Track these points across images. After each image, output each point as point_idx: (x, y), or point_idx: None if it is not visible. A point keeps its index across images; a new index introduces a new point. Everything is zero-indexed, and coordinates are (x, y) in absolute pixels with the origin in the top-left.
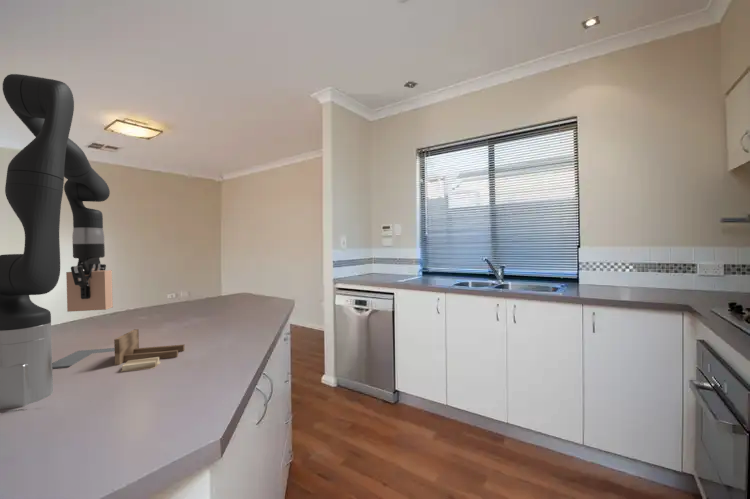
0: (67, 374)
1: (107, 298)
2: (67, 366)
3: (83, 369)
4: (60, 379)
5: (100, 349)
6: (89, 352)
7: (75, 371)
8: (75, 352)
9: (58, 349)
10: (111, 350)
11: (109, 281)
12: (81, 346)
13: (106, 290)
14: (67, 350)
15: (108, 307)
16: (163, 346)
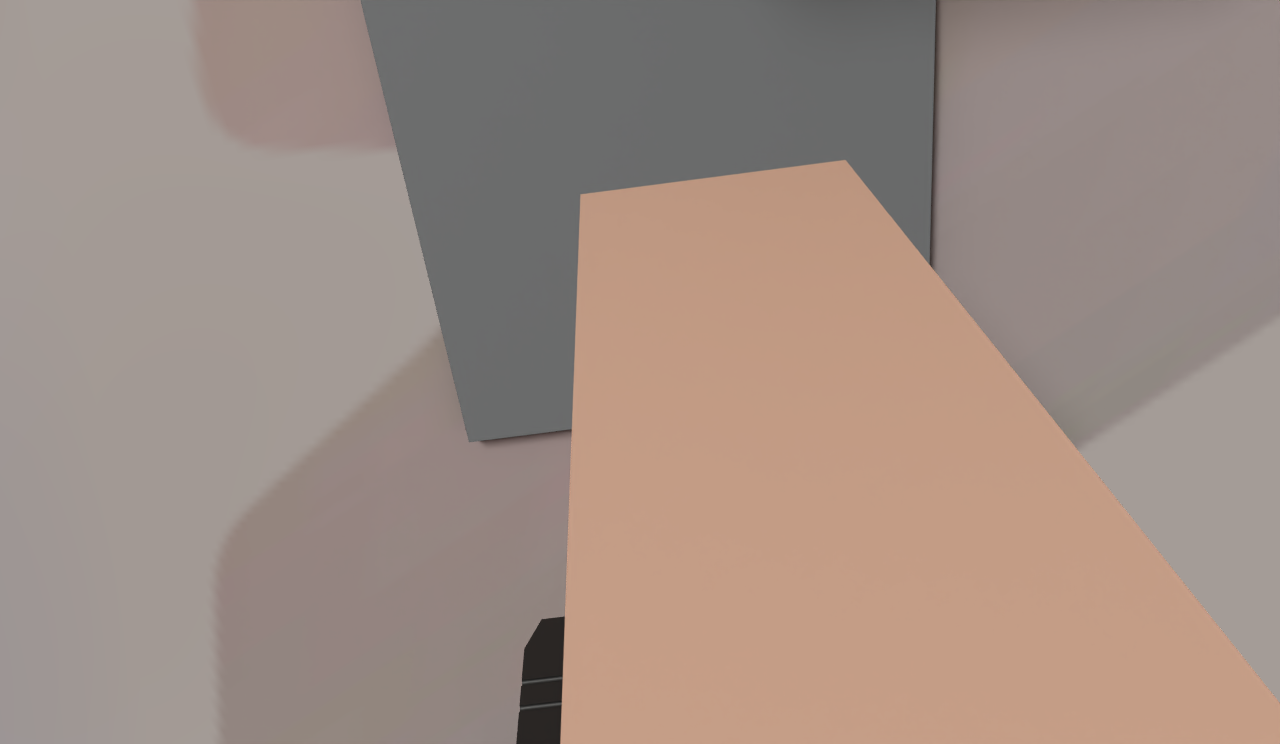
0: (1113, 84)
1: (809, 252)
2: (929, 214)
3: (1011, 30)
4: (1237, 50)
5: (445, 262)
6: (538, 302)
7: (1048, 68)
8: (523, 426)
9: (353, 647)
10: (493, 117)
11: (759, 538)
12: (266, 540)
13: (912, 341)
14: (386, 564)
15: (745, 180)
16: None
